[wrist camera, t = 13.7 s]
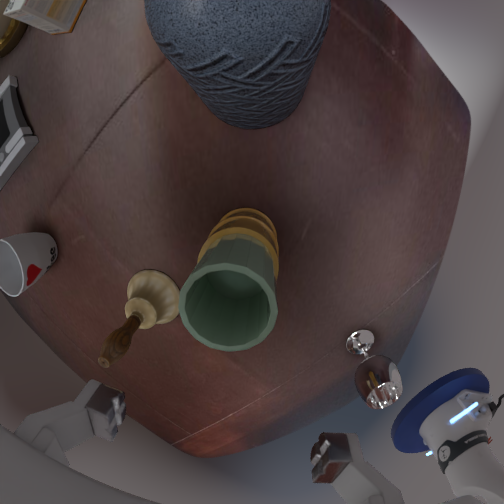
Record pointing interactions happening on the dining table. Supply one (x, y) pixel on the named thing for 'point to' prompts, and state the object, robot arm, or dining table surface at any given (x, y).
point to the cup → (25, 260)
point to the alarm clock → (12, 131)
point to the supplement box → (46, 13)
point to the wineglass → (374, 373)
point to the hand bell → (142, 311)
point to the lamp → (9, 30)
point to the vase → (242, 52)
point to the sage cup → (231, 294)
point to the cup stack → (246, 230)
